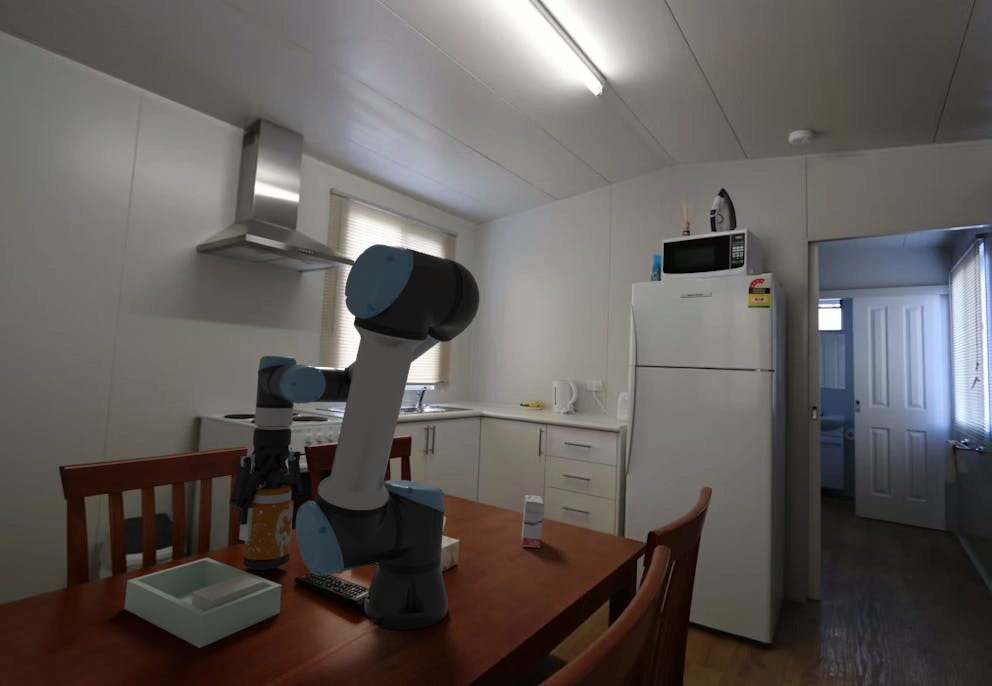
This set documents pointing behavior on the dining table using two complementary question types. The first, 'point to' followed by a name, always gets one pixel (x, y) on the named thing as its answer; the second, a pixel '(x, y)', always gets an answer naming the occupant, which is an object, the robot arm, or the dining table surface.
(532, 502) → the ink box
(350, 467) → the robot arm
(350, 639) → the dining table surface
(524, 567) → the dining table surface
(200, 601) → the white plastic bar
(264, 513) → the canister
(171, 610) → the crate
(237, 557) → the dining table surface
